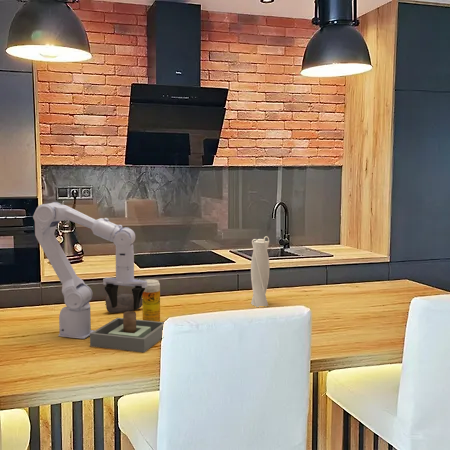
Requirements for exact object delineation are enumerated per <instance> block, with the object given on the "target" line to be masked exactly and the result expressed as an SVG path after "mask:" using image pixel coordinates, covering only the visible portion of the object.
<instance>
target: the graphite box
mask: <svg viewBox="0 0 450 450" xmlns="http://www.w3.org/2000/svg"><path fill="white" fill-rule="evenodd" d="M164 322H165V321H160V322H157V321H146V320H143V319H136V326H146V327H151V332H150V333H149V334H147V335H146V336H145V337H143V338H138V337H129V336H119V335H110V334H108V333H109V332H111V331H112V330H114V329H116V328H117V327H119V326H121V325H122V324H123V317H115V318H114V319H113V320H111V321H108V323H106V324H104V325H102V326H100V327H99V328H97V329H95V331H93V332H92V333H90V336H89V346H90V347H95V348H100V349H102V348H103V349H113V350H121V351H128V352H137V353H146V352H147V351H148V350H150V349H151V348H153V346H154V345H156V344H157V343H158V342H159V341H161V340H162V339H163V338H162V330H163V324H164ZM161 338H162V339H161Z"/></svg>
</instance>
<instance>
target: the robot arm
mask: <svg viewBox="0 0 450 450" xmlns="http://www.w3.org/2000/svg"><path fill="white" fill-rule="evenodd" d="M32 218H33V220H34V235H35V238H36V240H37V242H38V244H39V245H40V247H41V250H42V251H43V253H44V254H45V256H46V258H47V259H48V261H49V263H50V265H51V267H52V269H53V271H54V272H55V274H56V276H57V278H58V280H59V282H60V283H61V285H62V287H61V294H62V295H63V299H64V301H63V302H64V304H65V306H64V307H62V308H61V309H60V312H59V314H58V315H59V317H58V320H59V321H58V324H59V325H58V326H59V334H57V335H58V337H63V338H71V339H81V340H84V339H86V338H88V337H90V333H92V332H93V331H95V330H96V329H95V330H94V329H92V326H91V325H92V324H91V323H92V322H91V318H92V317H91V304H90V301H91V300H92V298H93V290H92V288H91V287H90V286H89V285H87V284H86V283H85V281H84V280H83V279H82V278H81V277H80V276H78V275H77V274H76V271H75V270H74V268H73V266H72V264H71V262H70V260H69V259H68V257H67V254H65V252H64V249H63V248H62V246H61V244H60V242H59V241H58V238H57V237H56V235H55V231H56V229H57V228H58V227H57V226H58V225H59V224H60V222H62V221H70V222H72V223H75V224H77V225H80V226H83V227H85V228H88V229H90V230H91V231H92V234H93V235H94V236H97V237H99V238H101V239H104V240H106V241H108V242H111V243H113V245H114V246H115V277H105V278H103V279H102V280H103V281H102V283H103V284H102V285H103V286H105V287H104V291H105V292H106V293H107V295H108V296H109V298H110V301H111V304H112V308H115V307H116V306H117V294H118V290H119V286H122V287H133V288H131V292H132V294H133V299H134V310H133V311H137V310H139V309H140V308H139V303H140V300H141V298H142V294H143V292H144V290H145V287H147V281H145V280H143V279H139V278H138V279H136V278H135V252H134V251H135V250H134V242H135V241H136V233H135V231H134V230H133V229H131V228H130V227H129V226H127V227H126V226H125V227H123V225H122V224H116V223H114V222H112V221H110V219H109V218H108V217H104V218H103V217H100V218H98V219H95V218H94V217H91V216H89V215H87V214H84V213H83V212H82V211H81V212H80V211H79V210H77V209H74V208H73V207H71V206H68V205H65V204H63V203H60V202H58V201H53V202H50V203H42V204H39V205H37V207H36V209H35V211H34V213H33V215H32ZM138 308H139V309H138ZM136 309H137V310H136Z"/></svg>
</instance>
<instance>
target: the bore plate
mask: <svg viewBox="0 0 450 450" xmlns="http://www.w3.org/2000/svg"><path fill="white" fill-rule="evenodd" d="M150 332H151V327H146V326H136V332H135V333H126V332H123V324H122V325H121V326H119V327H117V328H116V329H114V330H112V331H111V332H109V333H108V334H110V335H119V336H129V337H138V338H143V337H145V336H146V335H147V334H149V333H150Z"/></svg>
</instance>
